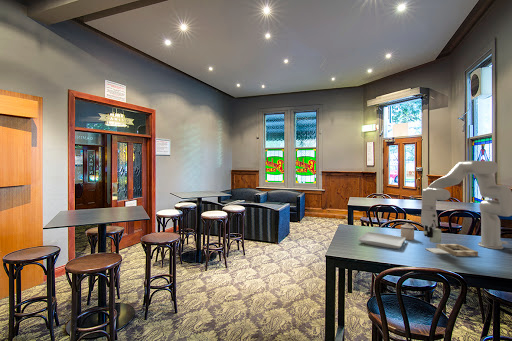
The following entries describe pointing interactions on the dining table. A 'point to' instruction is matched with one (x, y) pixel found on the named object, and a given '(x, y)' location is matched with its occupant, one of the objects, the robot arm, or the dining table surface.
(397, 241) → the square plate
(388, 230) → the dining table surface
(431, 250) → the pad
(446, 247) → the stand
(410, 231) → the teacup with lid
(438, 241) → the jug
